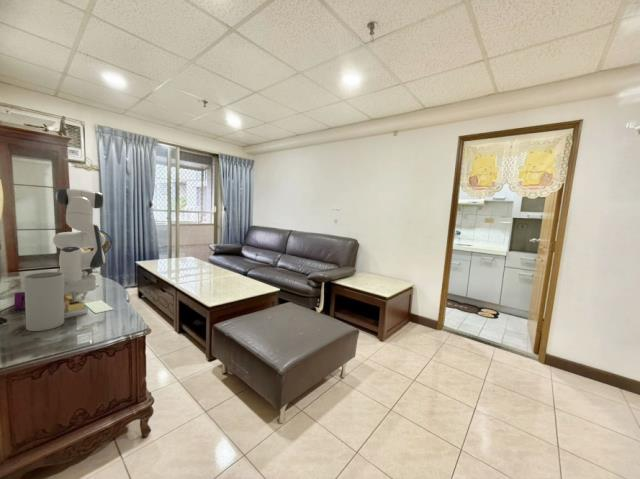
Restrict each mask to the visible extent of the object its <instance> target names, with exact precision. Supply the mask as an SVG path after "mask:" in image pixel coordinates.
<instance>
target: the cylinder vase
mask: <svg viewBox="0 0 640 479" xmlns="http://www.w3.org/2000/svg"><path fill="white" fill-rule="evenodd" d="M23 277H24V278H23V279H24V280H23V281H24V282H23V283H24V292H25V301H24V304H25V305H24V308H25V328H26V330H27V331H29V332H42V331H48V330H53V329H56V328H58V327H60V326H62V325H63V324H64V323H65V318H64V278H63V273H60V272H58V271H46V272H45V271H44V272H36V273H31V274H26V275H24V276H23Z"/></svg>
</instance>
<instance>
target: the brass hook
mask: <svg viewBox="0 0 640 479" xmlns="http://www.w3.org/2000/svg"><path fill="white" fill-rule="evenodd" d="M77 300H78V301H77V304H72V294H68V295H64V303H65V309H66V310H67V311H73V310H78V309H83V305H84V302H83V300H81V299H80V300H79V299H77Z"/></svg>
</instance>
